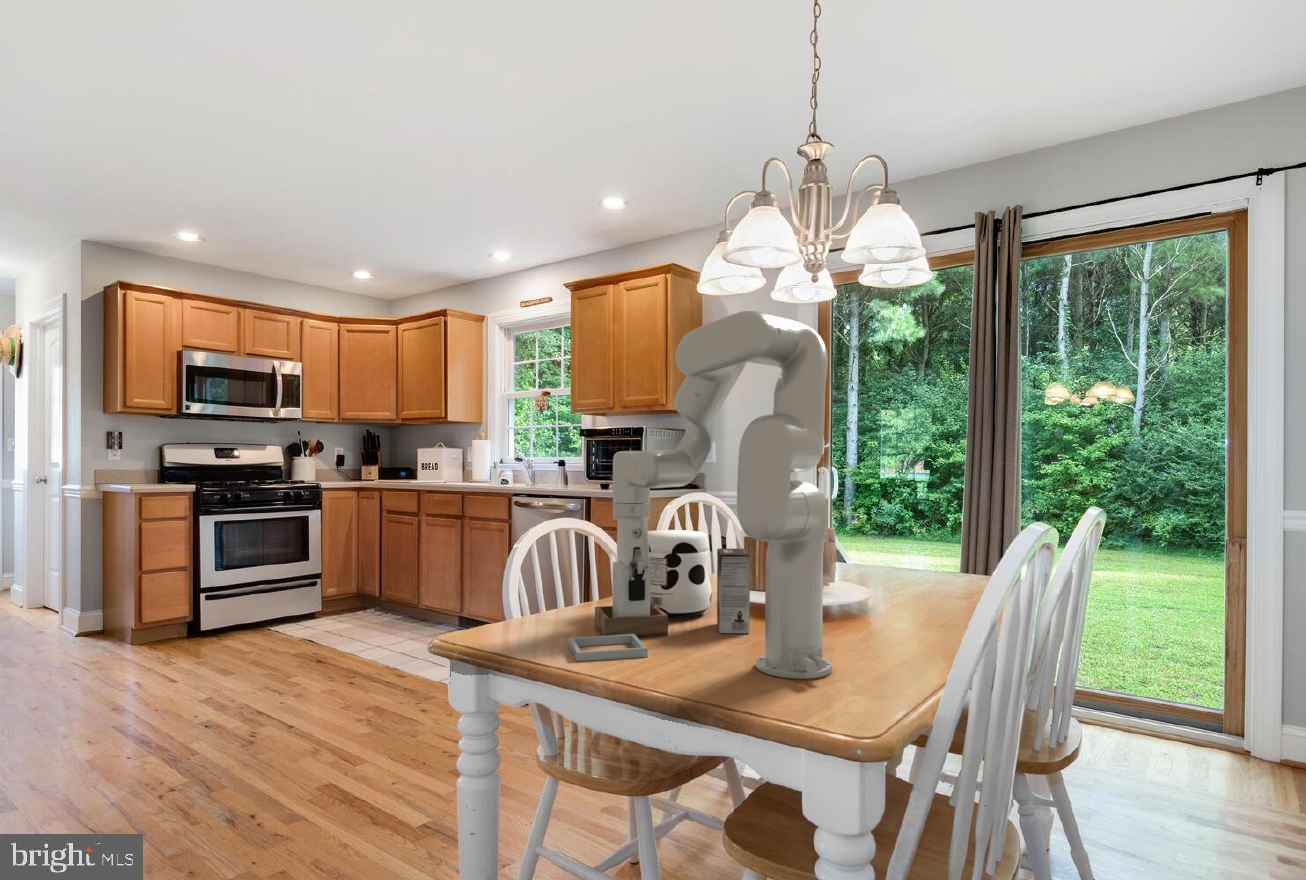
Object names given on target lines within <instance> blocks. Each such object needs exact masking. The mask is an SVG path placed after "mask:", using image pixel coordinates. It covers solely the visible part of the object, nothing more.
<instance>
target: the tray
mask: <svg viewBox="0 0 1306 880" xmlns="http://www.w3.org/2000/svg"><path fill="white" fill-rule="evenodd" d="M623 644H631V645H632V646H633V647H629V648H628V647H627V648H611V649H597V650H594V649H593V650H582V651H581V649H580V647H591V646H592V647H593V646H604V645H605V646H607V645H608V646H609V645H623ZM568 648H569V649H570V651H571V653H572V654H573V657H574V658H575V660H576V662H588V661H589V662H590V661H592V662H593V661H602V660H603V661H605V660H606V661H607V660H619V659H620V660H621V659H634V658H636V659H637V658H648V656H649V655H648V653H649V650H648V647H647V646H646V645H645V644H644V643H643V642H642V641H641V640H640V639H639V638H638V637H637V636H636V635H635V634H627V635H609V636H602V635H596V636H595V635H593V636H577V637H568Z"/></svg>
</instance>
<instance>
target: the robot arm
mask: <svg viewBox="0 0 1306 880" xmlns="http://www.w3.org/2000/svg"><path fill="white" fill-rule="evenodd" d="M675 350H676V351H675V358H674V359H675V363H676V367H677V369H678V370H679V371H680V372H681V373H682V374H683V375H684V376H686V377H685V378H684V380H683V382H682V384H681V385H680V387H679V389H678V390H677V391H676V394H675V396H674V398H673V406H674V408H675V410H676V411H677V412H678V413H679V415H680V416H682V418H684V419H685V420H686V429H685V432H684V434H683V437H682V438H681V440H680V441H679V444H678V445H677V447H676V448H675V449H647V450H621V451H617V452H616V453H614V455H613V459H612V519H613V520H616V521H617V526H616V531H617V532H616V558H617V559H616V560H617V562H619V563H620V564H622V565H623V566H625V567H626V568H628V569H629V574H630V580H629V600H630V601H643V600H645V574H644V572H645V570H644V567H645V566H647V567H646V569H647V568H648V567H649V566H650V562H649V539H648V531H649V527H648V520H650V518H651V516H650V515H651V512H650V511H651V510H650V509H651V503H650V502H651V501H650V500H651V499H650V498H651V495H650V494H651V493H650V492H651V491H650V490H651V489H663V488H680V487H684V486H686V485H688V484H690V483H691V482H692V481H693V480H694V479H695V478H696V477H697V475H698V474H699V473H700V471H701V469H702V468H703V466H704V465H705V463H706V461H707V459H708V457H709V456H710V454H711V452H712V447H713V440H714V426H713V424H714V423H713V422H714V419H715V418H716V416H717V415H718V413H719V411H720V409H721V408H722V406H723V405H724V402H725V400H726V399H727V398H728V396H729V394H730V392H731V391H732V389H733V388H734V386H735V384H736V382H737V381H738V379H739V378H740V375H741V374H742V372H743V370H744V369H745V366H746V364H747V363H750V364H751V363H752V364H759V365H765V366H773V367H776V368H777V367H778V368H779V369H781V372H780V374H779V376H778V378H777V381H776V383H775V387H774V391H773V408H772V409H773V410H772V414H764V415H760V416H758V417H757V418H755V419H753V420H751V422H750V423H749V424H748V425H747V426H746V428H745V429H744V432H743V433H742V435H741V438H740V443H739V449H738V465H737V486H736V489H737V490H736V513H737V519H738V522H739V525H740V527H741V528H742V530H743V531H744V533H745V534H746V535H747V536H748V537H749V538H751V539H752V540H755V541H759V542H769V543H768V547H767V552H766V558H765V576H764V577H765V579H764V582H765V585H764V587H765V590H764V594H765V597H764V600H765V601H764V605H765V607H764V610H765V611H764V615H765V620H764V622H765V623H764V624H765V626H764V629H765V630H764V631H765V632H764V637H765V638H764V641H765V642H764V644H765V646H764V649H765V650H764V654H760V655H759V656H758V657H756V659H755V667H756V668H757V670H758V671H760V672H762V673H764V674H767V675H769V676H772V677H773V676H774V677H778V678H785V679H791V680H792V679H793V680H797V679H798V680H804V679H806V680H807V679H817V678H822V677H826V676H828V675H830V674H831V673H832V671H833V663H832V662H831V661H830V660H829V659H828V658H825V657H824V656H823V654H824V653H823V650H824V649H823V647H824V646H823V644H824V643H823V637H824V636H823V633H824V632H823V631H824V630H823V629H824V628H823V627H824V625H823V624H824V623H823V616H824V615H823V613H824V612H823V610H824V609H823V608H824V607H823V605H824V604H823V601H824V600H823V599H824V597H823V594H824V593H823V591H824V590H823V589H824V588H823V586H824V585H823V583H824V582H823V580H824V578H823V577H824V549H825V538H826V535H827V534H826V532H827V527H828V522H829V521H828V520H829V507H828V506H829V505H828V503H827V499H826V497H825V495H824V493H822V491H821V490H820V489H819V488H818V487H817V486H816V485H814V484H812V483H810V482H809V481H804V480H794V479H793V480H791V474H795V473H797V474H798V473H804V472H809V471H811V470H812V469H815V468H817V466H818V465H819V463H820V461H821V459H822V456H823V451H824V436H825V435H824V433H825V415H826V413H825V412H826V404H825V403H826V384H827V376H828V366H829V365H828V364H829V363H828V361H829V360H828V350H827V348H826V345H825V342H824V341H823V338H821V335H819V333H817V331H815V330H814V329H813V328H811V327H809V326H808V325H806V324H804V323H802V322H801V321H800V322H799V321H797V320H794V319H791V318H788V317H783V316H779V315H773V314H770V313H765V312H761V311H755V310H744V311H738V312H736V313H733V314H730V315H727V316H724V317H721V318H719V319H717V320H715V321H712V322H709V323H707V324H704V325H701V326H699V327H697V328H694V329H692V330H691V331H689V332H687V334H685V335H684V336H683V337H682V339H681V340H680V341H679V342H678V345H677V347H676V349H675ZM633 569H635V570H634V574H633Z"/></svg>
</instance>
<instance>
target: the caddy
mask: <svg viewBox="0 0 1306 880" xmlns="http://www.w3.org/2000/svg"><path fill="white" fill-rule="evenodd" d="M594 627H595V628H596V629H597V631H598V632H599V633H600V636H609V635H627V634H635V635H636V636H637V637H638V639H639V638H640V639H641V638H657V637H668V636H669V617H668V615H667V614H665V613H664V612H663V611H662V610H660V609H659V608H658V607H657V606H655V605H654V604H650V616H635V617H616V618H612V605H607V606H606V605H603V606H595V607H594Z"/></svg>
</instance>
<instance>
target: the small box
mask: <svg viewBox="0 0 1306 880" xmlns="http://www.w3.org/2000/svg"><path fill="white" fill-rule="evenodd" d="M646 567H647V566H645V567H644V570H645V572H644V574H645V600H643V601H630V600H629V580H630V574H629V569H628V568H626V567H625V566H623V565H622V564H620V563H619V562H618V561H613V562H612V594H611V595H612V605H611V606H612V618H616V617H635V616H650V566H649V567H648V568H647V569H646ZM634 570H635V569H633V574H634Z"/></svg>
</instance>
